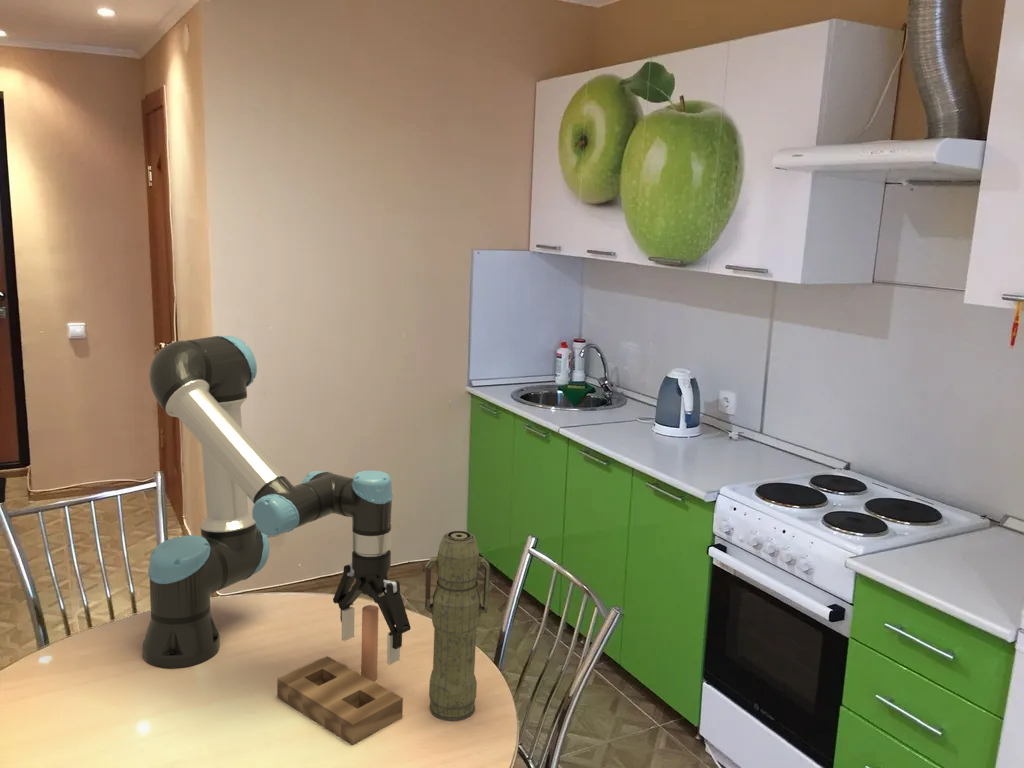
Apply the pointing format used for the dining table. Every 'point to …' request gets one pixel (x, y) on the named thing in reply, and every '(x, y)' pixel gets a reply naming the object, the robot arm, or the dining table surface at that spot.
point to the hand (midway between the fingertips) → (370, 650)
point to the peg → (369, 642)
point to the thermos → (455, 624)
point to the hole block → (340, 699)
